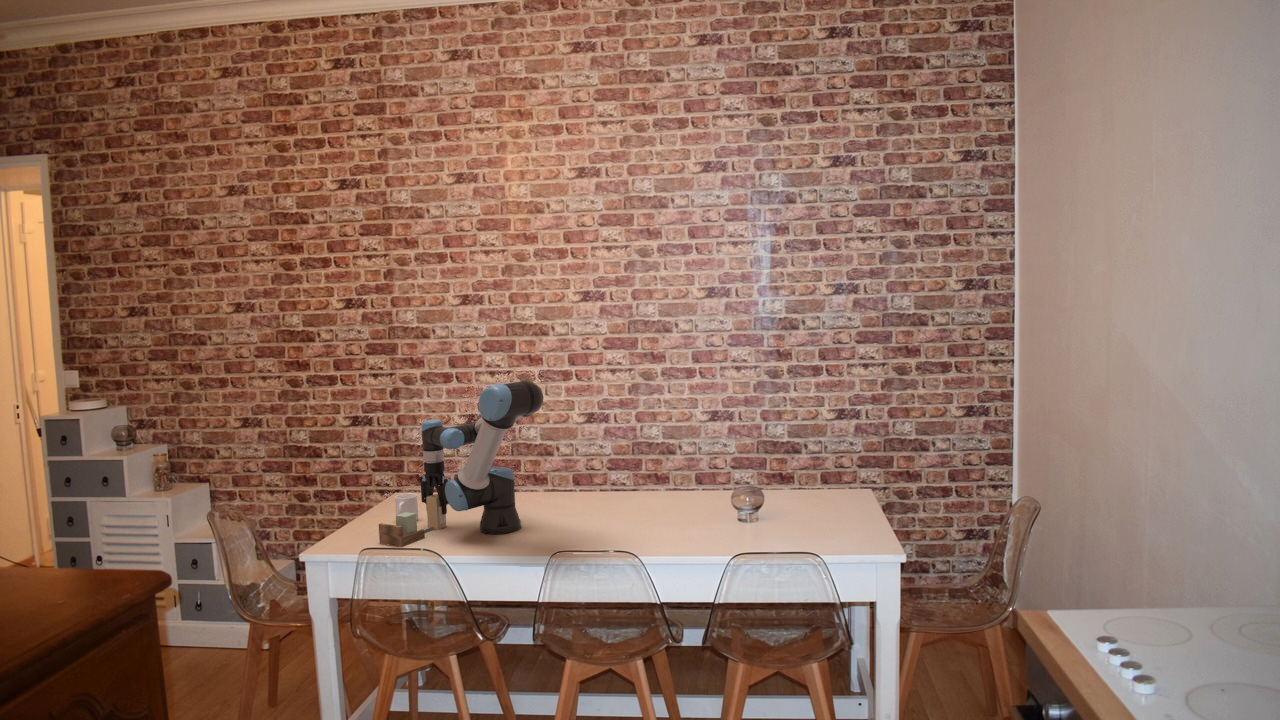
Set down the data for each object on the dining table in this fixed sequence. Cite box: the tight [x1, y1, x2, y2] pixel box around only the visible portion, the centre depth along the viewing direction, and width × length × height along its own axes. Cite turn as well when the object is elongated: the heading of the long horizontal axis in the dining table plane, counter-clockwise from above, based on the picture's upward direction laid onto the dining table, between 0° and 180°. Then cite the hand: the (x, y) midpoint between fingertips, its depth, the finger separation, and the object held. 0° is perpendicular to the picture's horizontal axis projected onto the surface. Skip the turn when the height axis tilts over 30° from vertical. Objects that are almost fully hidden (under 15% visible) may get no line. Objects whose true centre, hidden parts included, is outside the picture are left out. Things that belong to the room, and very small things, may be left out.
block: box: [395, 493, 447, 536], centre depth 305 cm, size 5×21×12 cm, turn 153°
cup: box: [394, 492, 419, 522], centre depth 320 cm, size 8×12×10 cm
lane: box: [378, 522, 425, 548], centre depth 297 cm, size 10×12×7 cm
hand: (437, 521), depth 312 cm, fingers closed on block, 5 cm apart
